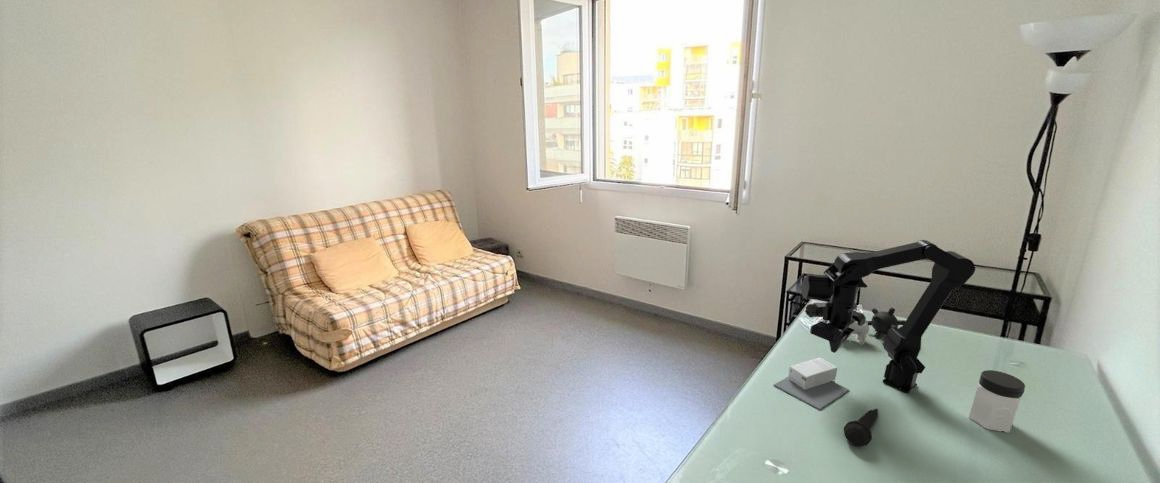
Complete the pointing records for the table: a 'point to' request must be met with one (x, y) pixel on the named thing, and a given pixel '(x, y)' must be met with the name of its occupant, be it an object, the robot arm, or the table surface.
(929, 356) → the table surface
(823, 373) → the skincare box
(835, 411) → the table surface
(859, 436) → the microphone
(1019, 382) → the jar
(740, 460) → the table surface
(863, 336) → the dog figurine
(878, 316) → the toy ball
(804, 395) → the mat
